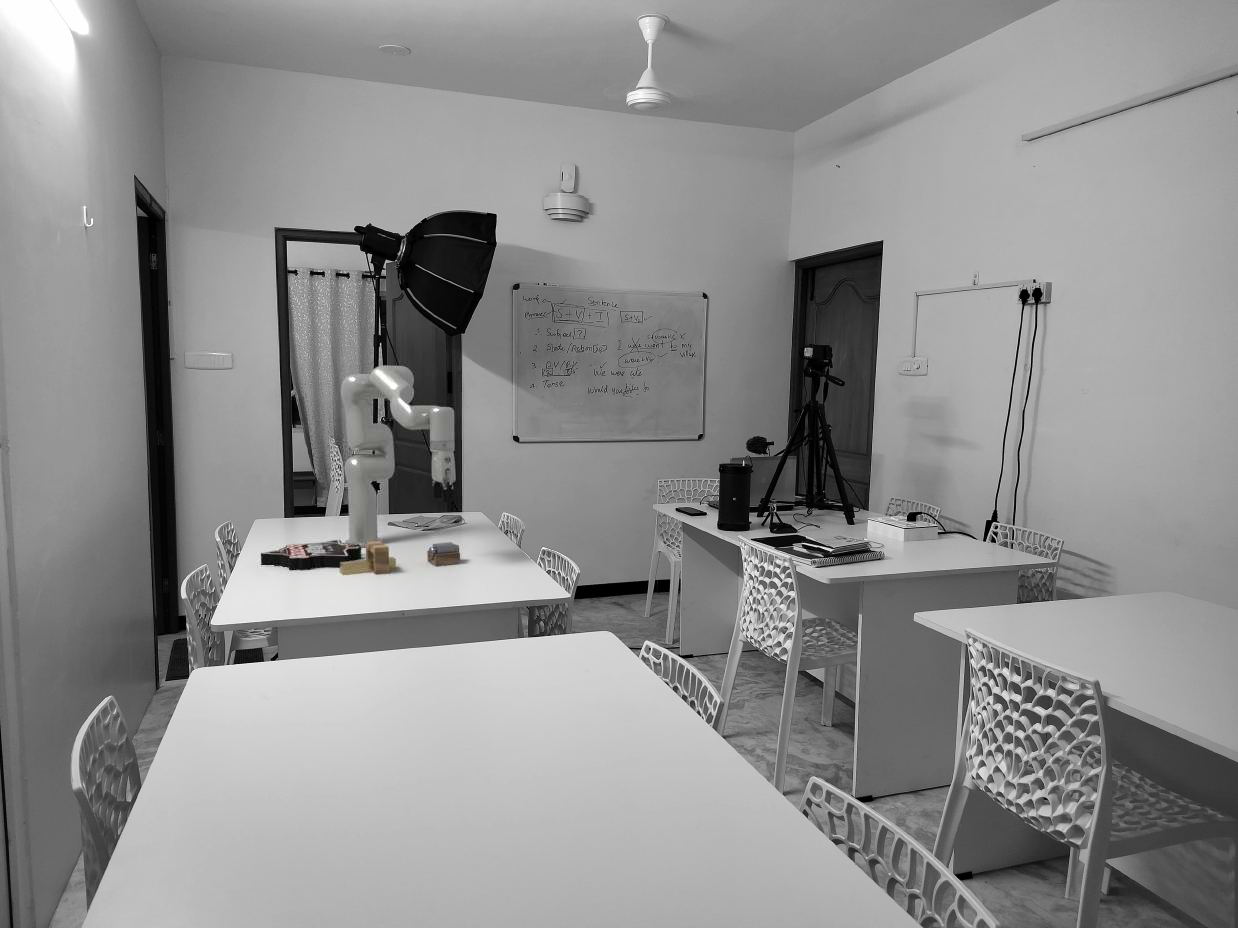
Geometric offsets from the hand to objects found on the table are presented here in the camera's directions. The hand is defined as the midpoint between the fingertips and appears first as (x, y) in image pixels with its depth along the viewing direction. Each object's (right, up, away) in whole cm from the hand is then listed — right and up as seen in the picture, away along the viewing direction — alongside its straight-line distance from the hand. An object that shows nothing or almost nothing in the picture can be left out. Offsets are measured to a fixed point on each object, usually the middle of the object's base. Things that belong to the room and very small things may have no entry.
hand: (442, 499), depth 258 cm
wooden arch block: (-18, -21, -9) cm, 29 cm away
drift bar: (-20, -22, -10) cm, 31 cm away
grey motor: (0, -19, +2) cm, 19 cm away
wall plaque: (-42, -20, +2) cm, 47 cm away
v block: (0, -20, +2) cm, 20 cm away
